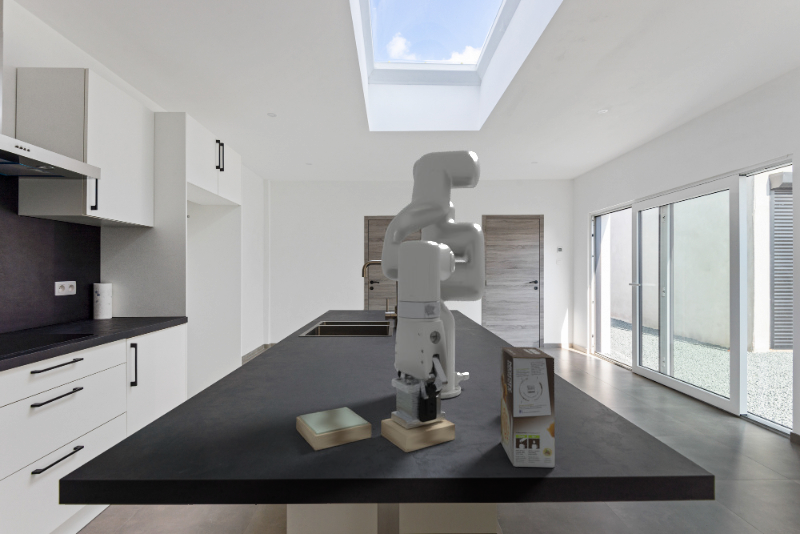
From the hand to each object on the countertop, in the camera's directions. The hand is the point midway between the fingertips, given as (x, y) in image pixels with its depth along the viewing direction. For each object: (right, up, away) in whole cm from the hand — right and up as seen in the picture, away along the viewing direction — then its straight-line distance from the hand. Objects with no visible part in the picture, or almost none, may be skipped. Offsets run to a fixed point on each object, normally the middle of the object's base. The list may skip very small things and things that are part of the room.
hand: (418, 413), depth 67 cm
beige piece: (0, -4, -1) cm, 4 cm away
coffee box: (+17, -4, -7) cm, 18 cm away
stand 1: (-15, -4, +1) cm, 16 cm away
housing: (0, -1, 0) cm, 1 cm away
